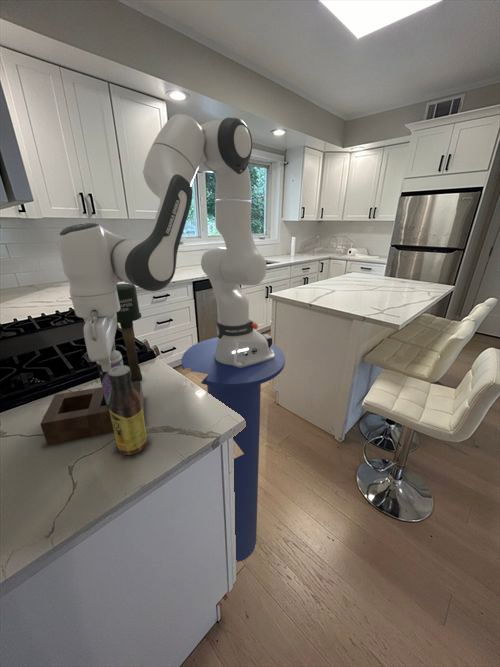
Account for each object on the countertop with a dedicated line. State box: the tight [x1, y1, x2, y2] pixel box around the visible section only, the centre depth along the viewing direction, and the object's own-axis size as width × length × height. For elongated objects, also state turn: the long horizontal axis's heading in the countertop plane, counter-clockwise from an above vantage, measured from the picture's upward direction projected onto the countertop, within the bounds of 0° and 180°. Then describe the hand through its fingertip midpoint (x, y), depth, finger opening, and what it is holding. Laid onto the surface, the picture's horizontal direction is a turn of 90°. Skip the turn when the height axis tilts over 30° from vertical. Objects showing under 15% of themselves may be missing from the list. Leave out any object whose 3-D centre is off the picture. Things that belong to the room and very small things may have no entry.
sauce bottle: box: [108, 364, 148, 456], centre depth 58 cm, size 7×6×20 cm
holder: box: [40, 381, 145, 446], centre depth 69 cm, size 20×11×6 cm, turn 110°
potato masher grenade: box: [116, 283, 143, 382], centre depth 81 cm, size 8×9×30 cm
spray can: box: [96, 348, 124, 405], centre depth 67 cm, size 6×6×20 cm
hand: (109, 360), depth 65 cm, fingers open, 8 cm apart
